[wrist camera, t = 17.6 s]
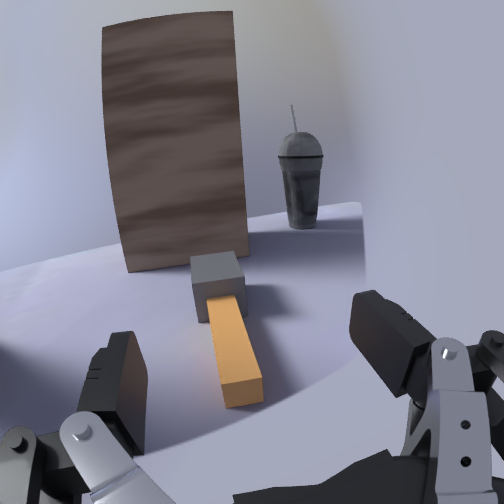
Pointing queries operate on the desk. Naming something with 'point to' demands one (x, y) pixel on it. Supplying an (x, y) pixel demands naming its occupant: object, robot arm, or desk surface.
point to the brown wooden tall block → (174, 138)
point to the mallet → (227, 325)
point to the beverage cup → (301, 176)
